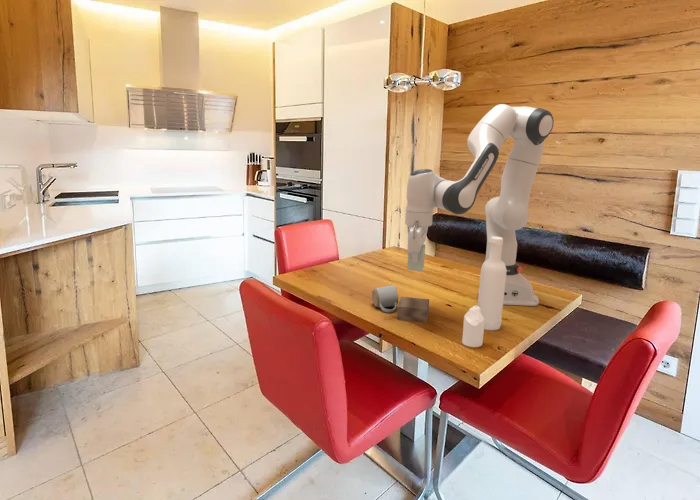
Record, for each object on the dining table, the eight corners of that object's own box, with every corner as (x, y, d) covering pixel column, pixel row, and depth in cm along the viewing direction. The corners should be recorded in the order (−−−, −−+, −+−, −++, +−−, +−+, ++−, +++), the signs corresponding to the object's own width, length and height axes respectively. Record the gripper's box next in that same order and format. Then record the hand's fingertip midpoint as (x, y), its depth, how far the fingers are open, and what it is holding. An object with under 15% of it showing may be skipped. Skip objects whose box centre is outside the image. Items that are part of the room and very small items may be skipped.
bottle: (479, 330, 138) (488, 240, 131) (472, 320, 145) (480, 234, 138) (504, 331, 138) (514, 240, 131) (496, 321, 145) (505, 235, 138)
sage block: (423, 267, 147) (425, 244, 145) (422, 271, 142) (423, 247, 140) (409, 265, 148) (410, 243, 146) (407, 269, 143) (408, 246, 141)
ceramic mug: (370, 303, 160) (371, 284, 158) (390, 301, 162) (391, 282, 160) (380, 314, 150) (381, 294, 148) (401, 312, 152) (402, 292, 150)
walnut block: (428, 312, 153) (429, 299, 152) (426, 323, 143) (427, 309, 142) (400, 309, 155) (401, 296, 154) (396, 320, 146) (397, 306, 144)
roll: (465, 308, 124) (464, 301, 129) (462, 346, 127) (461, 338, 132) (486, 310, 123) (485, 303, 128) (483, 348, 126) (481, 340, 131)
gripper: (424, 225, 130) (422, 268, 134) (431, 215, 149) (428, 253, 153) (404, 224, 132) (402, 266, 135) (413, 214, 151) (411, 252, 154)
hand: (416, 259), depth 144 cm, fingers closed on sage block, 5 cm apart
